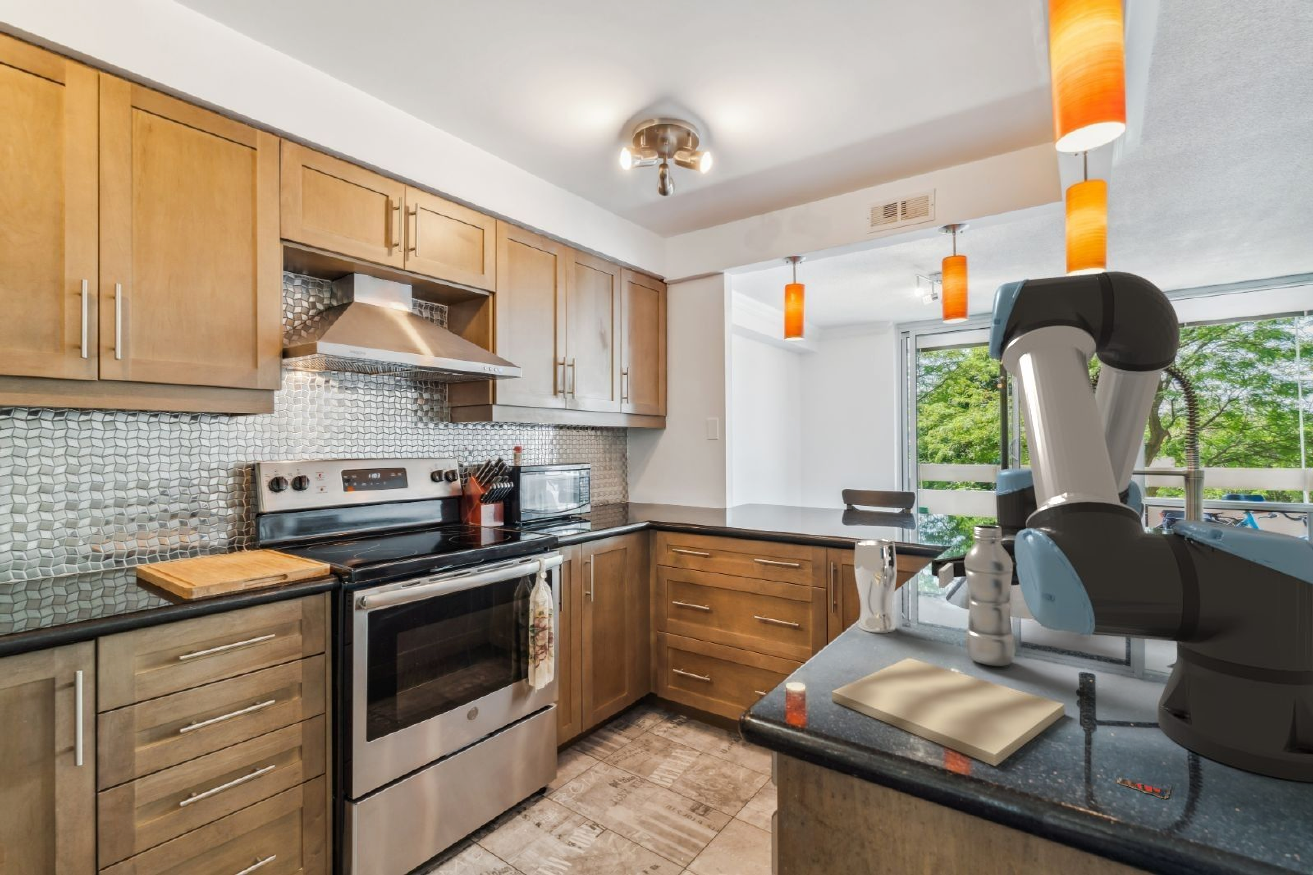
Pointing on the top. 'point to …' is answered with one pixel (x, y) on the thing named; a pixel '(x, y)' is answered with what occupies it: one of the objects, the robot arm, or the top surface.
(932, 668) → the birch board
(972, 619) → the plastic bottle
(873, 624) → the beer glass
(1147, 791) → the red brown flat piece
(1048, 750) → the top surface
